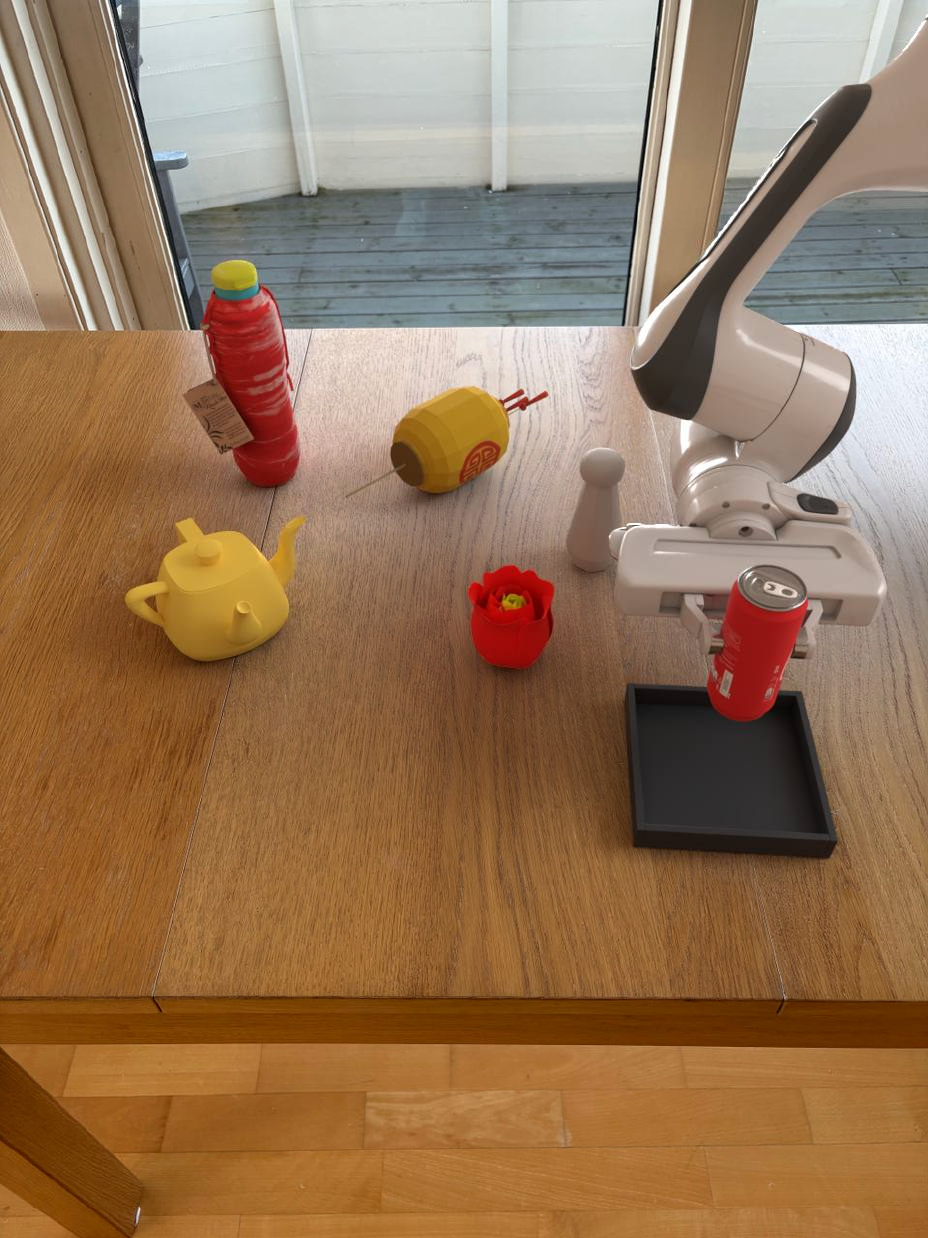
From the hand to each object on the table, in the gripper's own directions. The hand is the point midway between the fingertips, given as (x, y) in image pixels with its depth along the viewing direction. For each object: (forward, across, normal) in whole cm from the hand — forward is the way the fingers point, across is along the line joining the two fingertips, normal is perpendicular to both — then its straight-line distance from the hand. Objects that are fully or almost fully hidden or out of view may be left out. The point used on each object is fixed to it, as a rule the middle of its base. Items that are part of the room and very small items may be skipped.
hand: (758, 651), depth 68 cm
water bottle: (-40, -48, +16) cm, 64 cm away
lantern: (-42, -26, +16) cm, 52 cm away
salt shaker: (-28, -10, +16) cm, 33 cm away
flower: (-14, -18, +16) cm, 28 cm away
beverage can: (-1, 0, +7) cm, 7 cm away
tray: (0, 0, +16) cm, 16 cm away
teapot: (-16, -45, +16) cm, 50 cm away
